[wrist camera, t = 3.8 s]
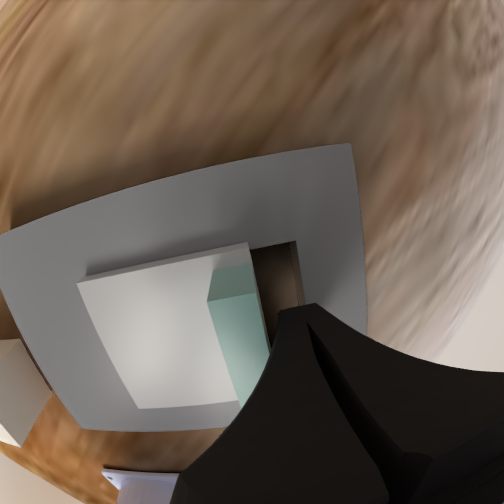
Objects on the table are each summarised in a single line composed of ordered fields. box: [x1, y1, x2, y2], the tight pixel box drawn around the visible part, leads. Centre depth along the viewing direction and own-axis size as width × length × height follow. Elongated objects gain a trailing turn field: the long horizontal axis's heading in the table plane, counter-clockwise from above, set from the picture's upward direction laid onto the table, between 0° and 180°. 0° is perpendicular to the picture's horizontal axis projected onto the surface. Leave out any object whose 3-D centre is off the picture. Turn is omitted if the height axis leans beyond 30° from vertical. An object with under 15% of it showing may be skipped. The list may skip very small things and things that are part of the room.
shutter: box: [77, 242, 271, 409], centre depth 9 cm, size 6×6×3 cm
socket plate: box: [0, 143, 367, 432], centre depth 11 cm, size 11×15×2 cm
